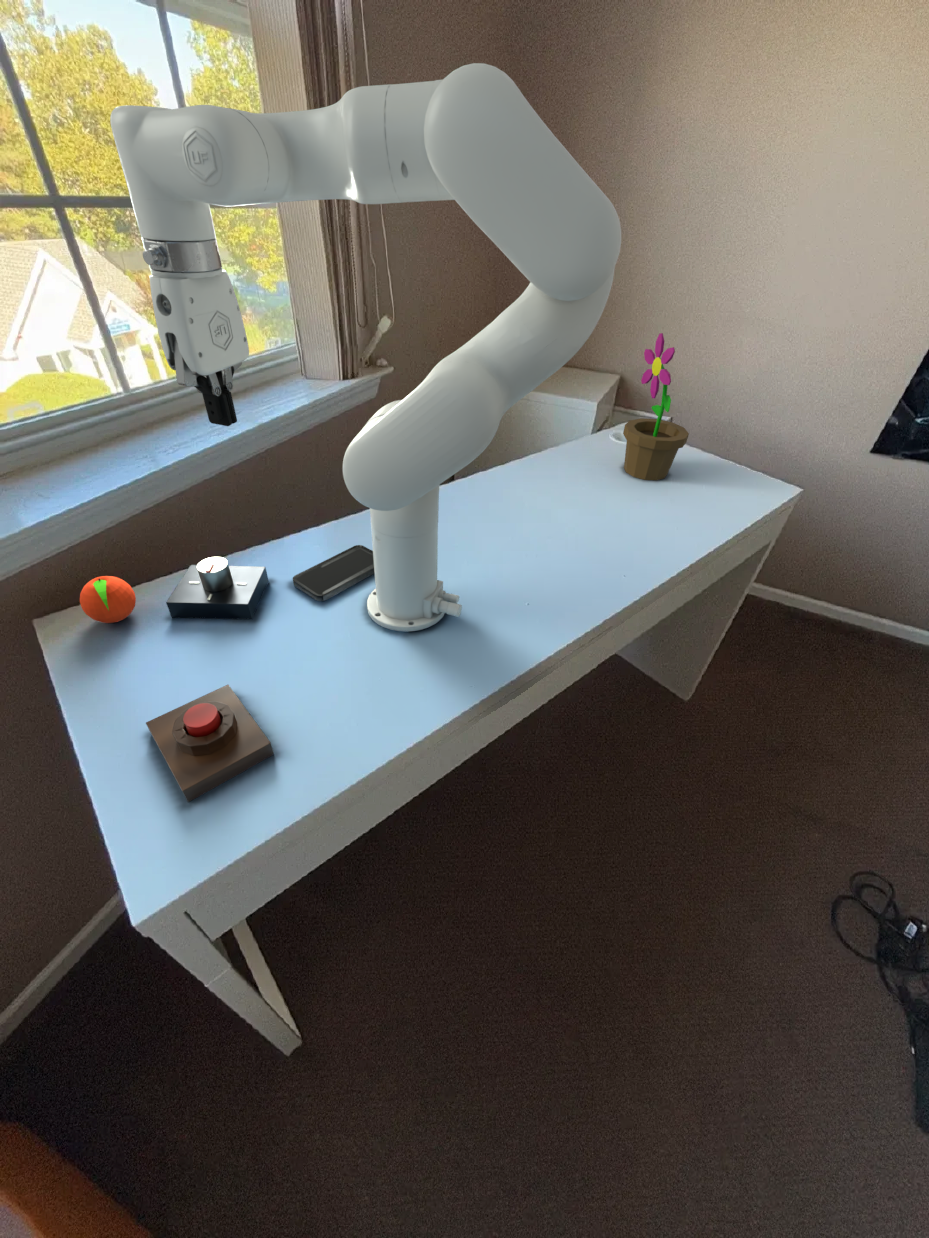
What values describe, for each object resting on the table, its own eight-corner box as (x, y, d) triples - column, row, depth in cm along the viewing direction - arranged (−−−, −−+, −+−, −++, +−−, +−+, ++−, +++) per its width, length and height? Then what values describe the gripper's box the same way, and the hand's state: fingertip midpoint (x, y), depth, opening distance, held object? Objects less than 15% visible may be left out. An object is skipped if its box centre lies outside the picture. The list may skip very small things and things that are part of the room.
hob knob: (207, 575, 86) (201, 554, 84) (236, 575, 87) (230, 555, 84) (198, 591, 83) (191, 571, 81) (228, 591, 83) (222, 571, 81)
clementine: (147, 627, 81) (130, 588, 76) (93, 642, 78) (73, 603, 73) (138, 598, 86) (122, 561, 81) (88, 612, 83) (69, 573, 78)
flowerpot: (605, 460, 136) (634, 326, 116) (657, 457, 139) (693, 326, 119) (632, 486, 125) (669, 343, 106) (687, 482, 128) (733, 342, 109)
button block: (274, 754, 64) (267, 732, 62) (188, 802, 59) (177, 781, 57) (232, 695, 71) (224, 674, 69) (151, 734, 66) (140, 712, 63)
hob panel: (268, 581, 91) (265, 565, 89) (252, 619, 83) (247, 603, 81) (195, 579, 90) (190, 563, 88) (171, 618, 83) (165, 601, 81)
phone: (388, 560, 95) (319, 597, 86) (389, 565, 96) (320, 603, 87) (358, 543, 99) (289, 577, 90) (359, 548, 100) (290, 583, 90)
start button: (226, 726, 63) (222, 716, 62) (194, 742, 61) (190, 732, 60) (213, 708, 65) (209, 698, 64) (182, 723, 63) (178, 713, 62)
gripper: (162, 269, 54) (209, 447, 66) (254, 254, 65) (280, 410, 77) (103, 262, 56) (159, 437, 68) (201, 249, 67) (235, 402, 79)
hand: (223, 422), depth 72 cm, fingers closed
